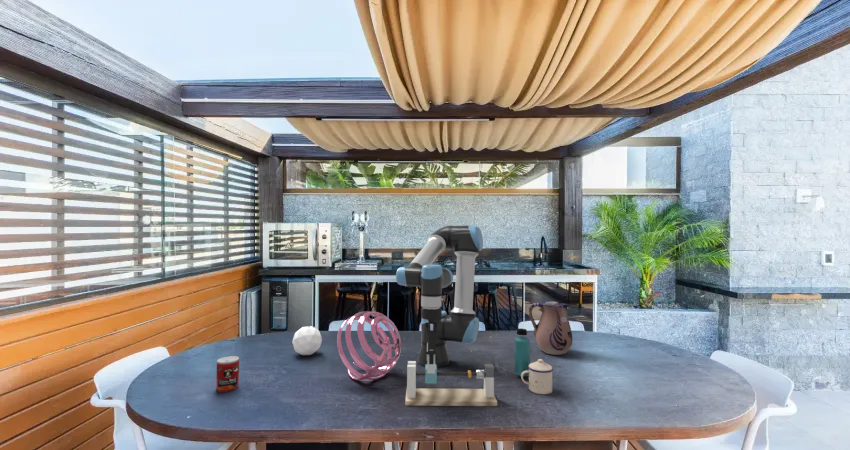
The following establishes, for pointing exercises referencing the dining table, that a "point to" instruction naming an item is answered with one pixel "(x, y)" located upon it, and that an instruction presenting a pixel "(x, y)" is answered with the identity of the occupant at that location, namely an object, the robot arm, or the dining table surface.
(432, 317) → the robot arm
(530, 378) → the teacup with lid
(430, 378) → the sleeve
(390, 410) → the dining table surface
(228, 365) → the canned food
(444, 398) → the cord jig
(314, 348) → the geodesic sphere
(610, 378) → the dining table surface
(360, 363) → the spiral basket
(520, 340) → the beverage bottle
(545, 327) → the ceramic pitcher
